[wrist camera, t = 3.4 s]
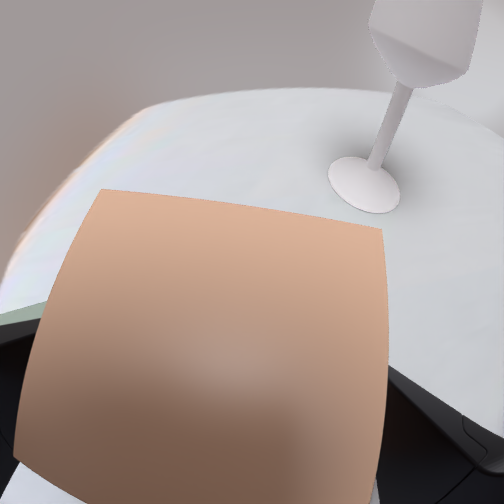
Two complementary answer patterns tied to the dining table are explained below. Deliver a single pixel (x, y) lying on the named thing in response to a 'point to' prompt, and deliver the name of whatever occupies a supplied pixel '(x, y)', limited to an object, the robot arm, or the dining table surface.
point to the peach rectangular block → (209, 357)
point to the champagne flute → (407, 82)
